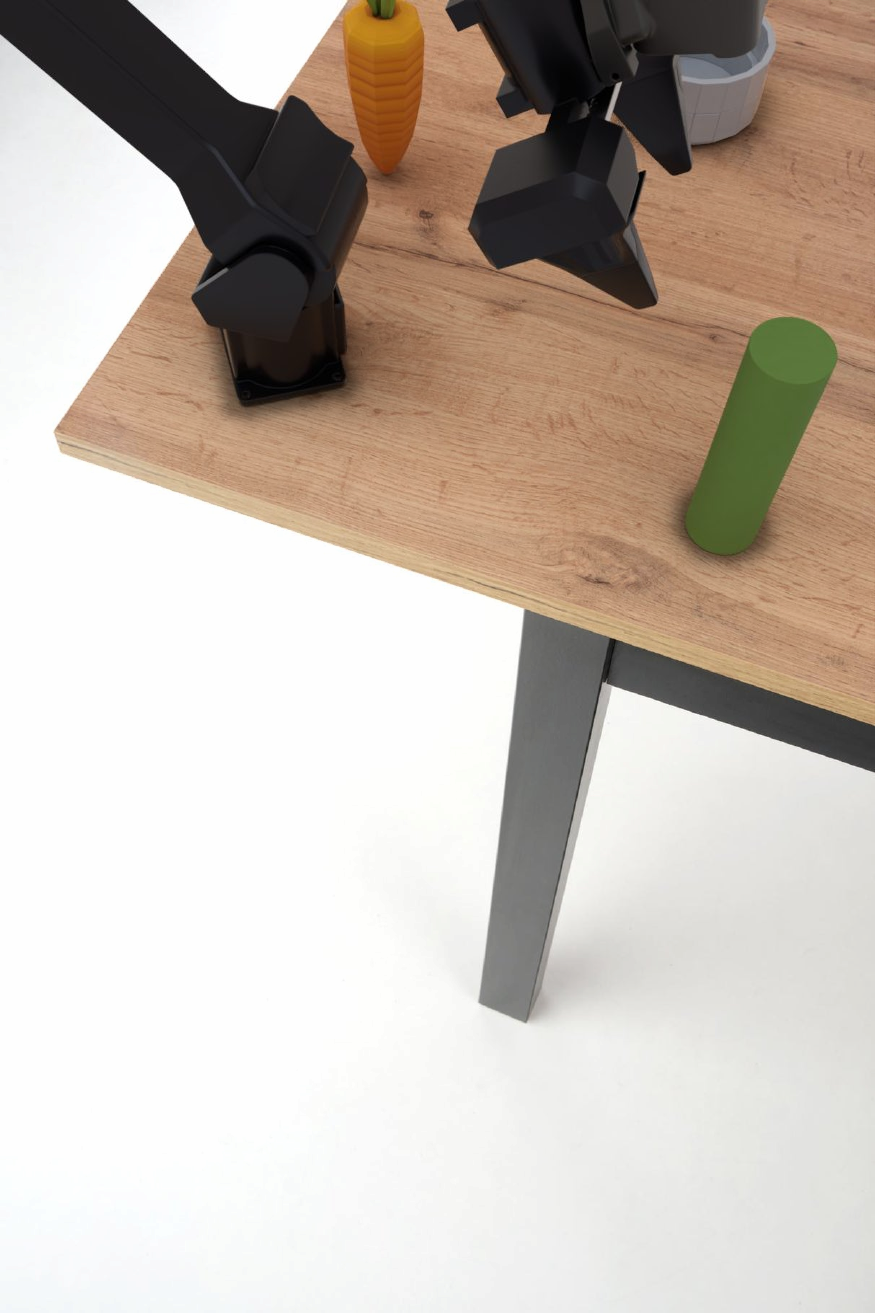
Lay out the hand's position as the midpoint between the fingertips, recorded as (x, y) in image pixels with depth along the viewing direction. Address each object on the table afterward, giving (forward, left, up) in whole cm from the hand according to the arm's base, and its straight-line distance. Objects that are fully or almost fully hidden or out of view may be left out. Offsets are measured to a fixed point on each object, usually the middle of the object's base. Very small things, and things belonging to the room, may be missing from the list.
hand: (666, 235), depth 55 cm
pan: (+14, +26, -15) cm, 33 cm away
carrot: (-8, +24, -15) cm, 30 cm away
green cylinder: (+3, -8, -15) cm, 17 cm away
